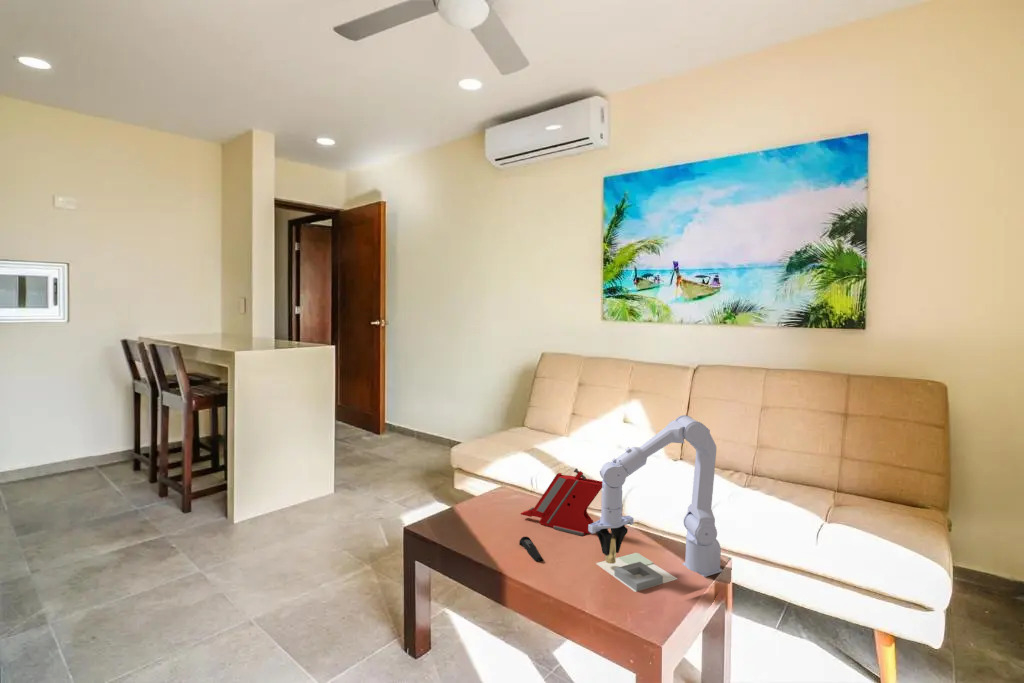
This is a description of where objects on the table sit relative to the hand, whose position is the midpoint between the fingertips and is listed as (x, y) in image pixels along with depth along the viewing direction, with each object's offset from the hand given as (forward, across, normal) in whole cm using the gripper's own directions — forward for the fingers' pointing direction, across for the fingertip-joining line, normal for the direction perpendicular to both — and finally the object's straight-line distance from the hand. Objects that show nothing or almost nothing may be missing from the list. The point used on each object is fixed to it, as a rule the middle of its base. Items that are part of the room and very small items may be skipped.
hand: (610, 552), depth 148 cm
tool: (+5, -3, -31) cm, 32 cm away
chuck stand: (+5, -5, +5) cm, 9 cm away
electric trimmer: (+6, +15, -19) cm, 25 cm away
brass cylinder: (+2, 0, 0) cm, 2 cm away
